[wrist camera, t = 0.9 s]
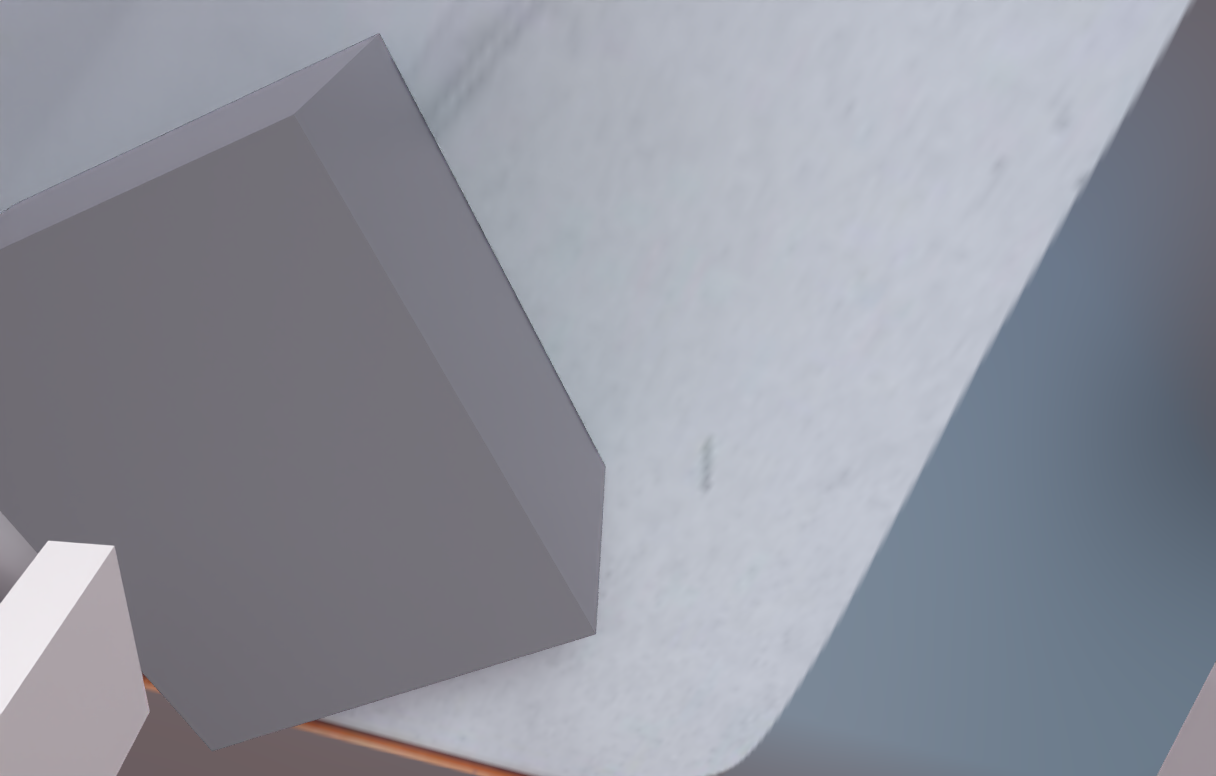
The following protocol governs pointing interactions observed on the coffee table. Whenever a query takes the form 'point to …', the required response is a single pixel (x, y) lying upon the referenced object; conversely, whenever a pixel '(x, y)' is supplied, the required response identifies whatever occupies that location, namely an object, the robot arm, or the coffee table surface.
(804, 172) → the coffee table surface
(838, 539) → the coffee table surface
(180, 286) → the housing
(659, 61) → the coffee table surface
